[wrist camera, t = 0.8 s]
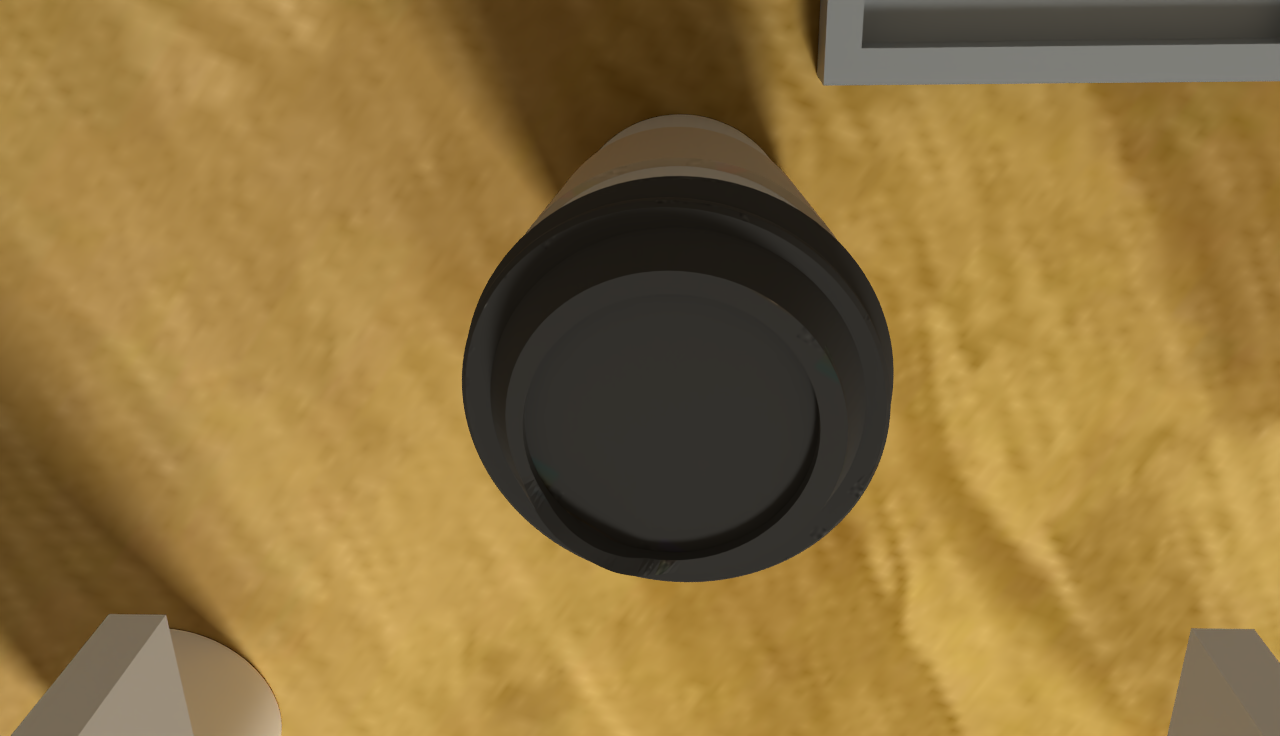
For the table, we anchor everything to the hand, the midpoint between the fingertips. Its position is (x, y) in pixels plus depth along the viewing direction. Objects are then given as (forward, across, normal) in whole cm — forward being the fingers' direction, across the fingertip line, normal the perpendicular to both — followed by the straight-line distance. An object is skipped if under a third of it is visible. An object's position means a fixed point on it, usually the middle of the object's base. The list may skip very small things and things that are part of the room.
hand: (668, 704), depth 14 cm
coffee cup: (+22, 0, 0) cm, 23 cm away
